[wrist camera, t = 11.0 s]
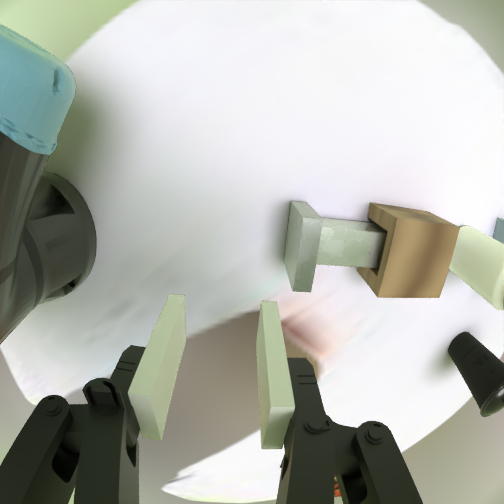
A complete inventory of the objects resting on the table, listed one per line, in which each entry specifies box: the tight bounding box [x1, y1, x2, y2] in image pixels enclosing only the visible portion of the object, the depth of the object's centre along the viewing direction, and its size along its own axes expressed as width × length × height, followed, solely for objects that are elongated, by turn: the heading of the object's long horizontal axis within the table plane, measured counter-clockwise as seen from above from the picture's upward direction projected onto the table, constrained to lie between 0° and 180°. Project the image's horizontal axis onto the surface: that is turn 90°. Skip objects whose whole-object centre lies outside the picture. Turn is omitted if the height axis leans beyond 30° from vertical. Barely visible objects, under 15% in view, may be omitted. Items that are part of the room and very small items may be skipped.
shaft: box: [284, 201, 388, 292], centre depth 27 cm, size 18×6×7 cm, turn 85°
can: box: [449, 226, 504, 310], centre depth 26 cm, size 6×6×12 cm
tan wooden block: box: [357, 203, 460, 298], centre depth 28 cm, size 8×8×6 cm
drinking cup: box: [448, 332, 504, 417], centre depth 28 cm, size 8×8×20 cm
